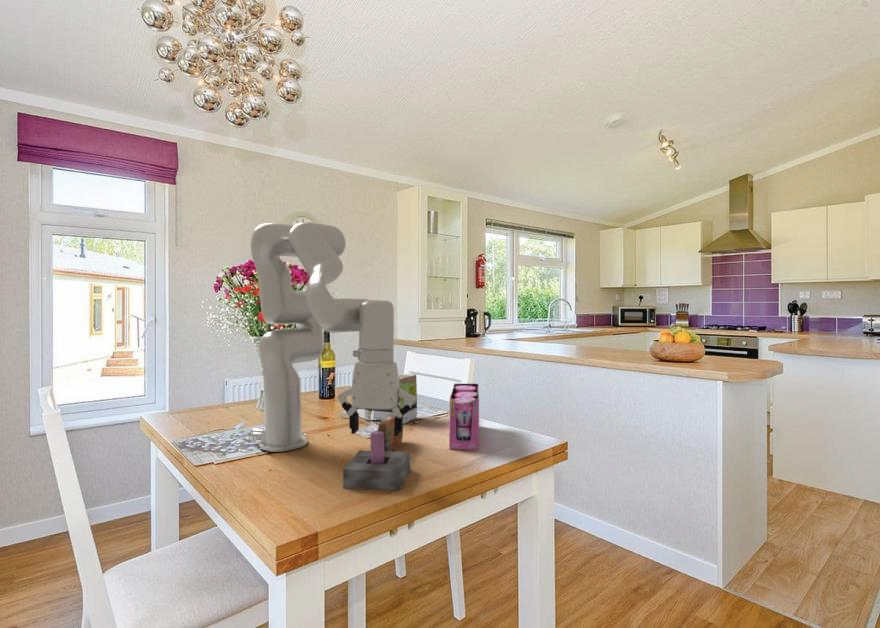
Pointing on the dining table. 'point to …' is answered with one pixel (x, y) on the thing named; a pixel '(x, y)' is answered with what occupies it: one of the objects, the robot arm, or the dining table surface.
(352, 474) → the hole block
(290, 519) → the dining table surface
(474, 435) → the gum box
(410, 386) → the tea box
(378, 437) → the peg
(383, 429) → the tin
